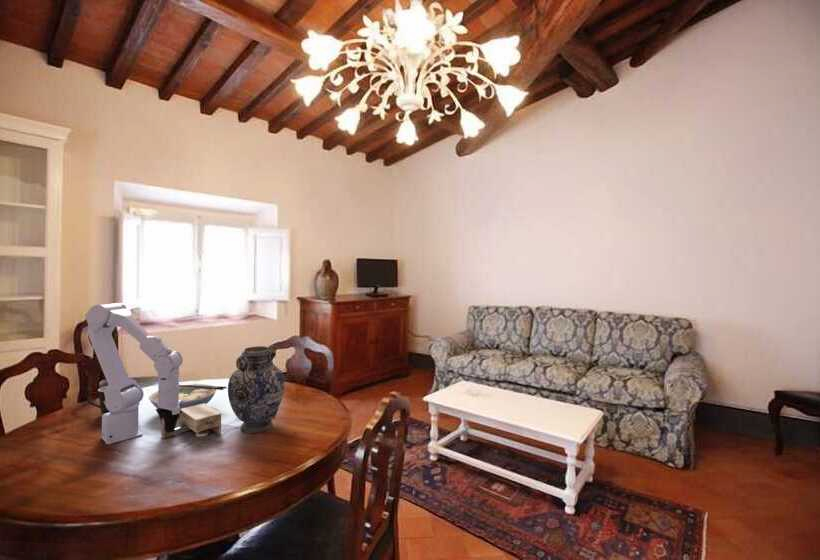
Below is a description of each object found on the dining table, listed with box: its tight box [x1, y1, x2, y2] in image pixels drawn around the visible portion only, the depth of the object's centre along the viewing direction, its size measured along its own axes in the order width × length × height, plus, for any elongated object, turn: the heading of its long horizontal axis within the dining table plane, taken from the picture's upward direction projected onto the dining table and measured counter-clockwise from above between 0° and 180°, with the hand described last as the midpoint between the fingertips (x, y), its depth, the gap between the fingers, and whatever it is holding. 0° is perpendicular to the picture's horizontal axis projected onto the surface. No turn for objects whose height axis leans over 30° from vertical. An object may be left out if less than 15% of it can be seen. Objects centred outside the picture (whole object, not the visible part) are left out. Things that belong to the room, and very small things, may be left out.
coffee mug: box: [86, 385, 123, 416], centre depth 144 cm, size 12×9×10 cm
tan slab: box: [179, 403, 222, 435], centre depth 130 cm, size 8×15×7 cm, turn 49°
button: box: [194, 429, 210, 438], centre depth 128 cm, size 4×4×1 cm
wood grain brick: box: [160, 417, 193, 439], centre depth 129 cm, size 12×3×6 cm, turn 139°
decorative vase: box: [227, 344, 285, 434], centre depth 134 cm, size 21×19×28 cm
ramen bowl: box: [148, 383, 227, 409], centre depth 148 cm, size 25×23×8 cm
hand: (168, 430), depth 126 cm, fingers closed on wood grain brick, 3 cm apart
